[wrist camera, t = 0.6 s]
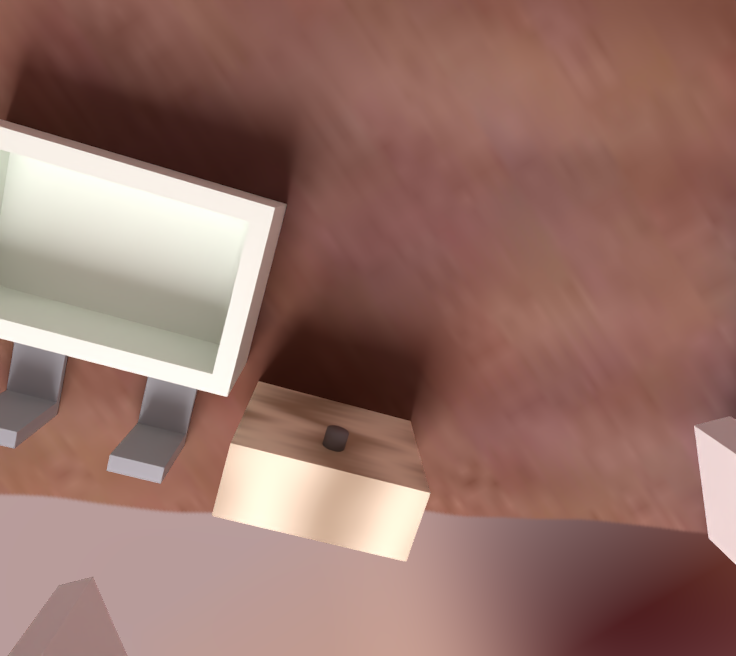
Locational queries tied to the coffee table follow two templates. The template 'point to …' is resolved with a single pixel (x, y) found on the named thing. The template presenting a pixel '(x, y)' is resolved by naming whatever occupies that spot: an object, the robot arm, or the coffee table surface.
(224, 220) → the box
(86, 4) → the coffee table surface
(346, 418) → the knobbed wooden block
